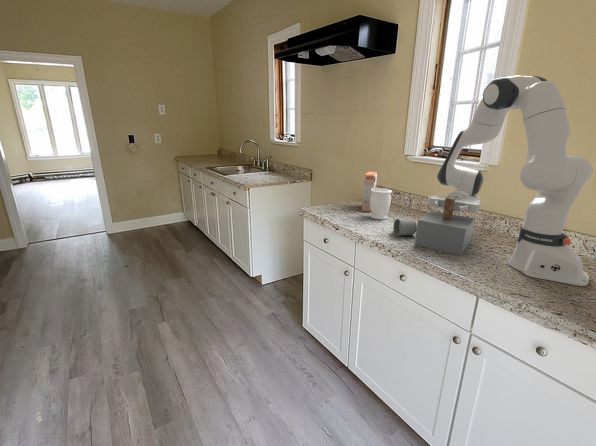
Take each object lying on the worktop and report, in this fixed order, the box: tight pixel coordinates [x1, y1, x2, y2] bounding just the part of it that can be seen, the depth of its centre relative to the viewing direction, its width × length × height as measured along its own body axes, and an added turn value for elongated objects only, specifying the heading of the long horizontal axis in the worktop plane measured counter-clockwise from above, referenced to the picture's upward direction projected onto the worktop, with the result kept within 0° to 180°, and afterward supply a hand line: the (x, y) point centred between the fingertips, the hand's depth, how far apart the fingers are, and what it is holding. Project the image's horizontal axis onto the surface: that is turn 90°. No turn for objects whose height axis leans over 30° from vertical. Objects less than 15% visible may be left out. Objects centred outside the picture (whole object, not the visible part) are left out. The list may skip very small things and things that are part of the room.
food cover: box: [414, 196, 476, 257], centre depth 131 cm, size 18×18×20 cm
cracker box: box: [361, 171, 378, 213], centre depth 182 cm, size 14×6×21 cm, turn 161°
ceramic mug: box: [392, 218, 417, 237], centre depth 145 cm, size 11×8×8 cm
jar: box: [370, 187, 393, 220], centre depth 167 cm, size 11×10×15 cm
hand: (448, 207), depth 129 cm, fingers open, 8 cm apart
